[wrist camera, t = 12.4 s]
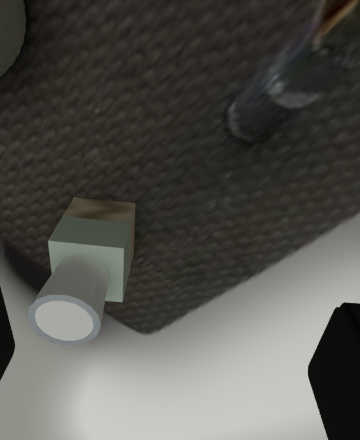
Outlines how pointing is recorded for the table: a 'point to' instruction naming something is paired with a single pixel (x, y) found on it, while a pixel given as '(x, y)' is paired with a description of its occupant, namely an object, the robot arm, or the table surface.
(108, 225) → the tower top
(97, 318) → the shot glass
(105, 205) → the tower base
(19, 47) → the canister
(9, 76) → the table surface
